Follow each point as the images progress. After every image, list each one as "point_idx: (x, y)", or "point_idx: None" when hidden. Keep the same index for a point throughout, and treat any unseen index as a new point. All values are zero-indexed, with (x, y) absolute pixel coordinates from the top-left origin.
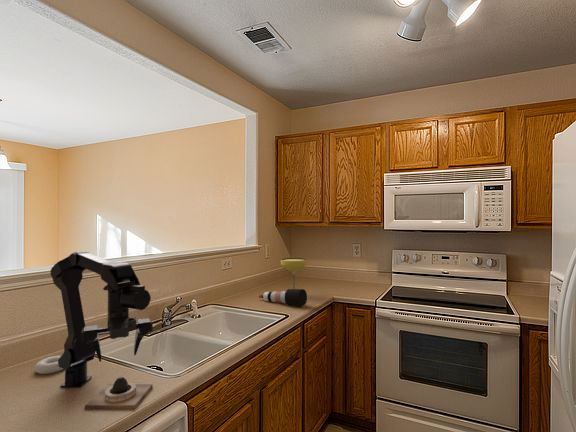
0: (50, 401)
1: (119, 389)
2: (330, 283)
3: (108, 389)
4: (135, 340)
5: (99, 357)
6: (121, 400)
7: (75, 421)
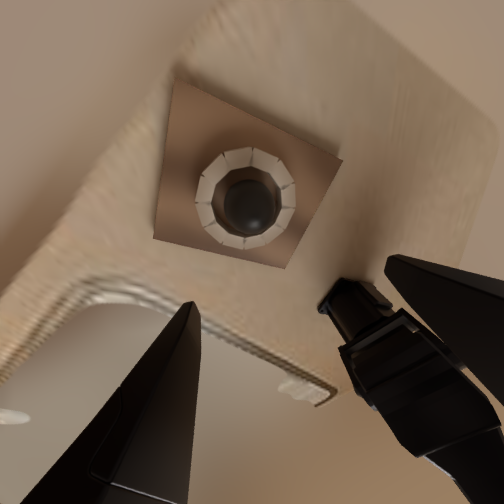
0: (398, 231)
1: (250, 181)
2: None
3: (285, 214)
4: (169, 447)
5: (429, 264)
6: (236, 148)
7: (366, 76)
